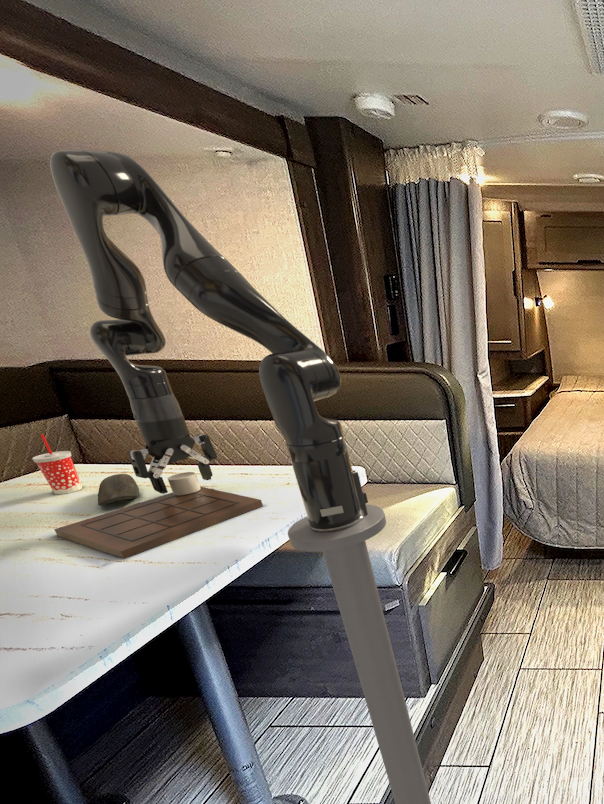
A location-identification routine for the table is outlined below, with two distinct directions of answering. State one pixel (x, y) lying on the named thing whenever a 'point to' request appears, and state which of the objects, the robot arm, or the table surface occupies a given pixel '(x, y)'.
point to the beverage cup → (58, 470)
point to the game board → (156, 521)
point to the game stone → (184, 483)
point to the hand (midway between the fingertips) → (186, 485)
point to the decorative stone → (117, 489)
